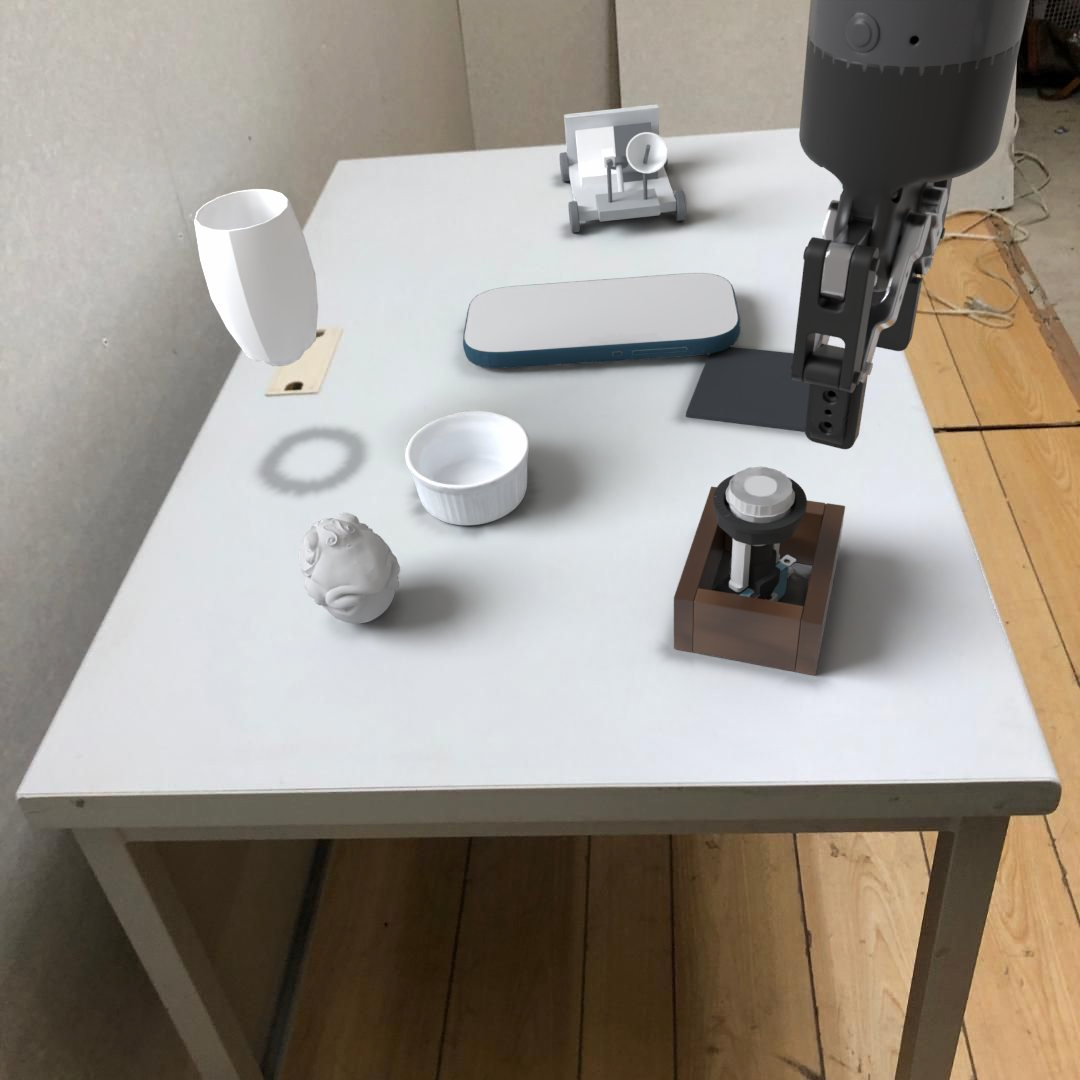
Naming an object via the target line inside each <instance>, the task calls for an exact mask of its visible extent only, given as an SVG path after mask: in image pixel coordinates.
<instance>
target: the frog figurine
mask: <svg viewBox="0 0 1080 1080" xmlns="http://www.w3.org/2000/svg"><path fill="white" fill-rule="evenodd" d="M298 563H299V567H300V570H301V574H303V576H304V583H303V585H304V589H305V591H306V592H307V594H308V596H309V597H311V598H312V599H313V602H314V603H315V604H316V605H318V606H322V607H323V608H324V609H325V610H326V611H327V612H328V613H329V614H330V615H331V616H332V617H334V618H336V619H337V620H339V621H341V622H344V623H348V624H364V623H368V622H371V621H374V620H375V619H377V618H379V617H380V616H381V615H383V614H384V613H385V612H386V611H387V610H388V609H389V607H390V606H391V604H392V602H393V599H394V596H395V593H396V589H397V588H399V586H400V584H401V583H400V580H399V574H400V572H401V566H400V564H399V561H398V559H397V557H396V555H395V554H394V553H393V551H392V550H391V547H390V546H389V544H388V543H387V542H385V540H384V539H383V537H381V535H379V534H378V533H375V532H374V530H373V528H371V527H369V525H367V524H366V523H364V522H363V523H362V522H360V520H359V518H358V517H357V516H356V515H355V514H353V513H349V512H342V513H339V514H337V515H335V516H334V517H330V518H329V517H328V518H323V519H320V520H318V521H316V522H314V523H313V524H311V525H310V526H308V528H307V529H306V530H305V532H304V534H303V536H302V539H301V542H300V547H299V552H298Z"/></svg>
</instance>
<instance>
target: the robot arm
mask: <svg viewBox="0 0 1080 1080" xmlns="http://www.w3.org/2000/svg"><path fill="white" fill-rule="evenodd" d="M1029 4H1030V0H810V1H809V12H808V13H809V15H808V26H807V37H806V49H805V51H806V52H805V63H804V73H803V74H804V75H803V86H802V98H801V108H800V109H801V110H800V120H799V123H800V124H799V132H798V136H799V137H798V139H799V143H800V146H801V149H802V151H803V152H804V154H805V156H807V158H808V159H810V161H811V162H812V163H814V164H815V165H817V166H818V167H820V168H824V169H825V170H826V171H828V172H829V173H831V174H832V175H833V176H834V177H835V178H836V179H837V180H838V181H839V182H840V184H841V186H842V187H841V188H842V191H841V193H840V194H839V199H837V200H836V199H832V200H831V201H830V203H829V205H828V208H827V211H826V214H825V218H824V222H823V225H822V230H821V237H822V238H820V237H815V236H812V237H811V238H810V239H809V241H808V243H807V245H806V246H805V247H804V251H803V255H802V256H803V267H802V268H803V269H802V276H801V286H800V292H799V293H800V294H799V302H798V310H797V311H798V312H797V320H796V329H795V337H794V347H793V353H794V355H793V361H792V364H791V370H792V372H791V378H792V379H793V380H797V381H801V382H806V383H810V388H809V397H808V406H807V416H806V425H805V431H804V434H805V436H806V438H807V439H808V440H809V441H810V442H813V443H817V444H820V445H824V446H829V447H832V448H837V449H839V450H849V449H851V448H852V447H853V446H854V445H855V443H856V441H857V439H858V437H859V435H860V429H861V424H862V423H861V422H862V417H863V416H862V415H863V410H864V403H865V396H866V389H867V383H868V377H869V376H870V375H871V374H872V370H873V365H874V363H873V359H874V355H875V352H876V348H879V349H885V350H889V351H895V352H903V351H905V350H906V349H907V348H908V346H909V344H910V343H911V340H912V339H913V335H914V329H915V323H916V317H917V312H918V306H919V301H920V295H921V290H922V284H923V279H924V278H923V277H919V276H924V277H925V276H927V274H928V271H929V269H932V266H933V263H934V256H935V253H936V251H937V247H938V246H939V245H940V242H941V240H943V239H944V237H945V234H946V227H945V224H946V223H945V222H946V218H947V212H948V205H949V200H950V195H951V188H952V184H953V183H952V182H953V179H955V178H958V177H960V176H964V175H966V174H968V173H970V172H972V171H975V170H976V169H978V168H980V167H981V166H983V165H984V164H985V163H986V162H988V161H989V160H990V158H991V157H993V155H995V152H996V151H997V149H998V147H999V144H1000V141H1001V136H1002V131H1003V126H1004V122H1005V118H1006V113H1007V112H1006V111H1007V107H1008V103H1009V98H1010V95H1011V89H1012V84H1013V80H1014V76H1015V71H1016V67H1017V62H1018V61H1017V60H1018V56H1019V51H1020V46H1021V42H1022V37H1023V32H1024V27H1025V23H1026V18H1027V14H1028V9H1029ZM830 337H833V338H837V339H841V341H843V344H844V347H841V346H836V345H831V344H829V341H830Z"/></svg>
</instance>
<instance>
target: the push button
mask: <svg viewBox="0 0 1080 1080" xmlns="http://www.w3.org/2000/svg"><path fill="white" fill-rule="evenodd" d="M716 487H717V488H716V490H715V492H714V496H713V506H714V510H715V512H716V516H717V521H718V525H719V527H720V528H722V529H723V530H724V531H725V532H726V533H727V534H728V535H730V536H731V537H732V538H733V545H732V552H731V559H730V560H729V564H728V565H729V566H728V576H726V577H725V578H724V579H723V580H722V581H721V582H719V583H718V584H717V585H716V586H715V587H714V590H713V591H718V592H724V593H730V594H736V595H741V596H747V597H753V598H759V599H765V600H770V601H776V602H779V600H781V598H783V597H784V595H786V591H787V585H788V582H787V581H788V578H789V577H790V576H792V575H793V574H794V573H795V572H796V569H795V568H793V567H792V565H793V564H795V563H797V562H796V559H795V558H793V557H791V556H789V555H786V556H784V557H783V558H782V559H781V560H780V554H779V546H780V543H781V542H783V541H785V540H787V539H789V538H791V537H792V536H793V534H794V532H795V530H796V529H797V527H798V525H799V523H800V521H801V519H802V518H803V516H804V515H805V512H806V507H807V500H808V499H807V495H806V492H805V490H804V489H803V487H802V486H801V485H800V484H799V483H797V482H796V481H795V480H794V479H792V478H790V477H788V476H787V475H786V474H785V473H783V472H782V471H780V470H778V469H775V468H772V467H768V466H753V467H752V466H751V467H747V468H744V469H741V470H740V471H738V472H736V473H734V474H732V475H730V476H728V477H726V478H724V479H723V480H722V481H721V482H720V483H719V484H718V485H717V486H716ZM728 505H729V506H728ZM727 506H728V509H727ZM790 510H791V511H792V513H791V514H790ZM786 560H790V561H789V562H785V561H786Z"/></svg>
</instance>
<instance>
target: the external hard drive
mask: <svg viewBox="0 0 1080 1080" xmlns="http://www.w3.org/2000/svg"><path fill="white" fill-rule="evenodd" d="M737 302H738V301H737V297H736V292H735V288H734V285H733V284H732V283H731V281H729V279H727V278H725V277H724V276H722V275H718V274H714V273H709V272H707V273H706V272H686V273H685V272H684V273H672V274H658V275H657V274H656V275H644V276H632V277H631V276H630V277H618V278H617V277H616V278H605V279H603V278H601V279H590V280H576V281H562V282H561V281H560V282H551V283H550V282H549V283H535V284H523V285H522V284H521V285H511V286H502V287H496V288H492V289H488V290H485V291H483V292H481V293H479V294H477V295H475V296H474V297H473V298H472V300H470V303H469V305H468V308H467V312H466V318H465V323H464V330H463V336H462V347H463V351H464V354H465V357H466V359H467V360H468V361H469V362H470V363H471V364H474V365H475V366H478V367H481V368H482V367H483V368H487V369H512V368H513V369H515V368H528V367H529V368H530V367H531V368H532V367H547V366H558V365H559V366H561V365H573V364H574V365H576V364H591V363H604V362H605V363H606V362H620V361H634V360H648V359H649V360H652V359H662V358H663V359H664V358H665V359H667V358H681V357H694V356H695V357H696V356H705V355H709V354H711V353H716V352H720V351H723V350H725V349H727V348H729V347H733V346H734V344H735V343H736V342H737V341H738V339H739V337H740V333H741V317H740V313H739V308H738V303H737Z"/></svg>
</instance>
